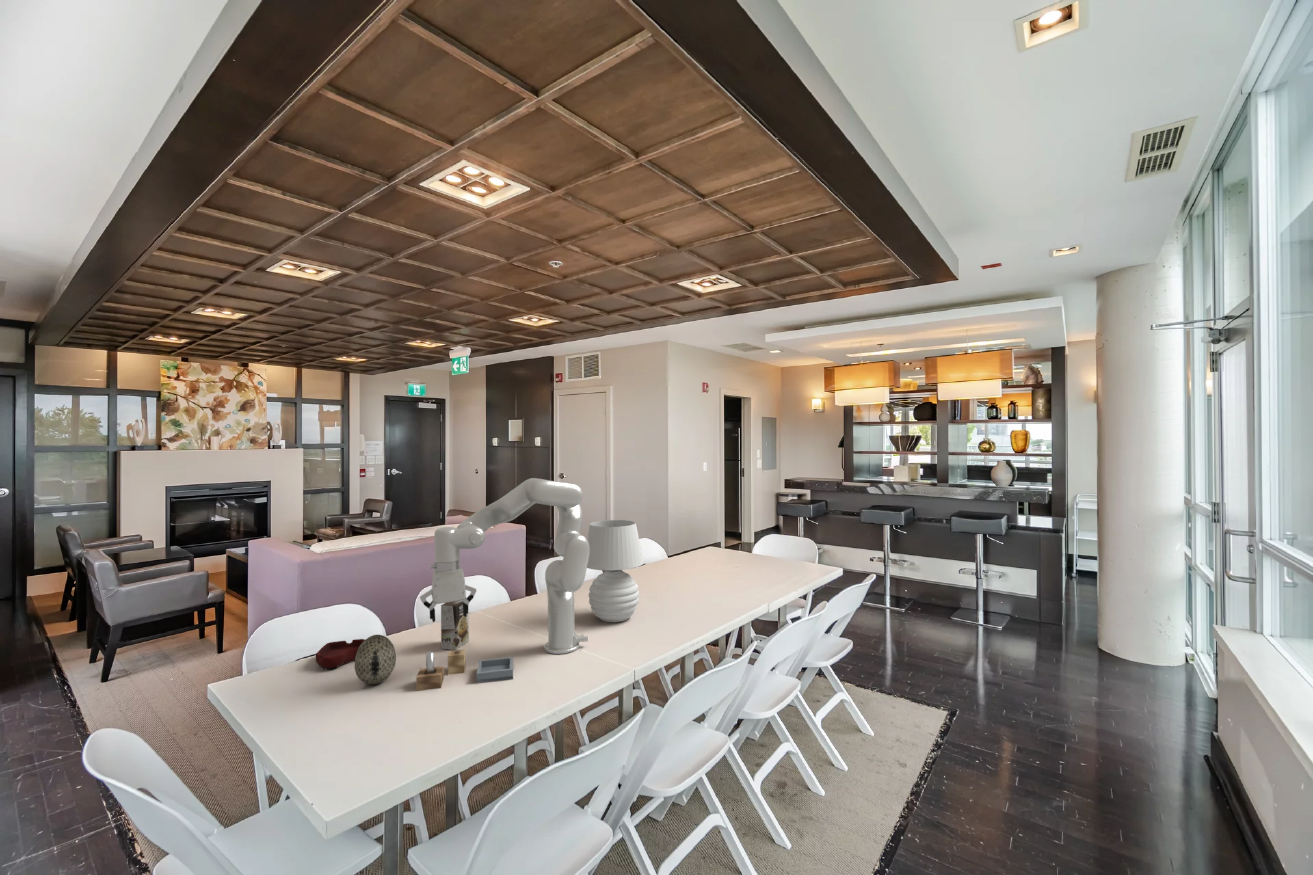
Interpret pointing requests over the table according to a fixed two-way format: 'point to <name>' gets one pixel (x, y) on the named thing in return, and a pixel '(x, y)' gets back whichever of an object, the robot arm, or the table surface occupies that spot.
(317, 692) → the table surface
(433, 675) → the tan wooden square frame
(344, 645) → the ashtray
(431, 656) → the cylinder
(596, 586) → the table lamp
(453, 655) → the oak block
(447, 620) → the coffee box
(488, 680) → the tray
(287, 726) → the table surface
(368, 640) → the decorative egg
